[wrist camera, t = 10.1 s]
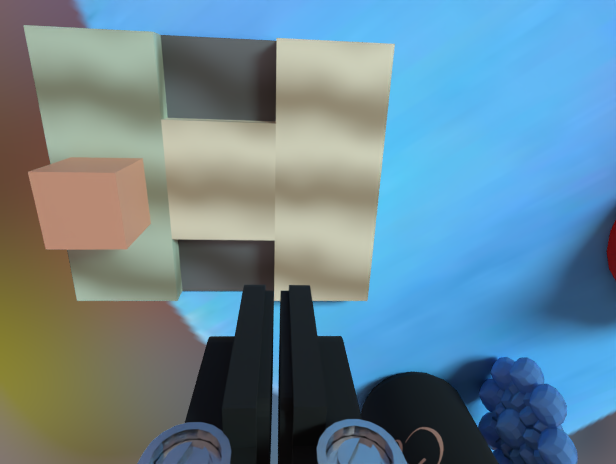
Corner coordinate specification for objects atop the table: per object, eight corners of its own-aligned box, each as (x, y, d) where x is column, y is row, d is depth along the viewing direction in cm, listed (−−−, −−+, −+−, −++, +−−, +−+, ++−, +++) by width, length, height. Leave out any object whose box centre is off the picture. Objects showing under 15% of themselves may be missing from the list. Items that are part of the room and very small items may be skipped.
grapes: (504, 428, 43) (584, 550, 31) (447, 422, 42) (508, 545, 31) (548, 341, 39) (656, 445, 28) (486, 332, 38) (572, 435, 27)
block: (70, 157, 28) (27, 171, 23) (142, 158, 28) (115, 172, 23) (83, 223, 29) (45, 249, 25) (150, 223, 30) (126, 249, 25)
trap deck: (41, 29, 26) (23, 25, 25) (387, 46, 28) (394, 44, 26) (88, 288, 33) (77, 300, 32) (362, 289, 35) (367, 300, 33)
